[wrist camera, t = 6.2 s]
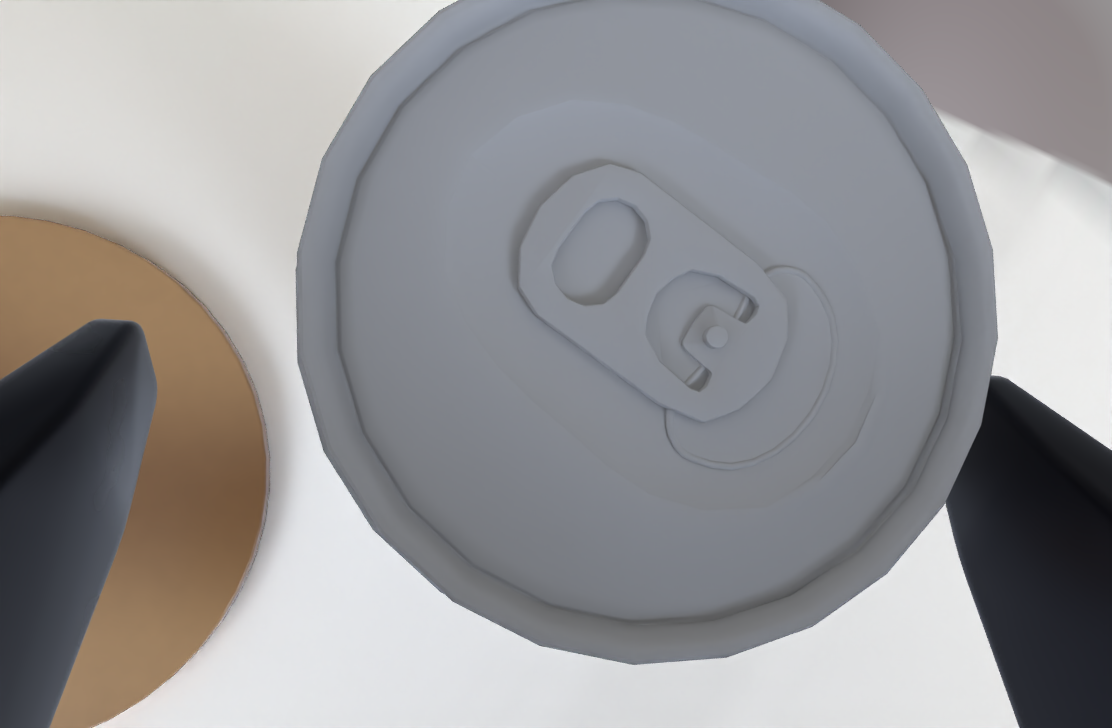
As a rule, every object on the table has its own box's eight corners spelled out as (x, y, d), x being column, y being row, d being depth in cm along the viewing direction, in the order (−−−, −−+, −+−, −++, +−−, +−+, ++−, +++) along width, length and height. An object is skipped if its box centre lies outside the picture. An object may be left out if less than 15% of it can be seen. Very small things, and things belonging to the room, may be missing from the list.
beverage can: (537, 536, 17) (757, 844, 5) (345, 399, 16) (91, 383, 5) (668, 348, 17) (1145, 226, 6) (485, 212, 17) (581, -230, 5)
